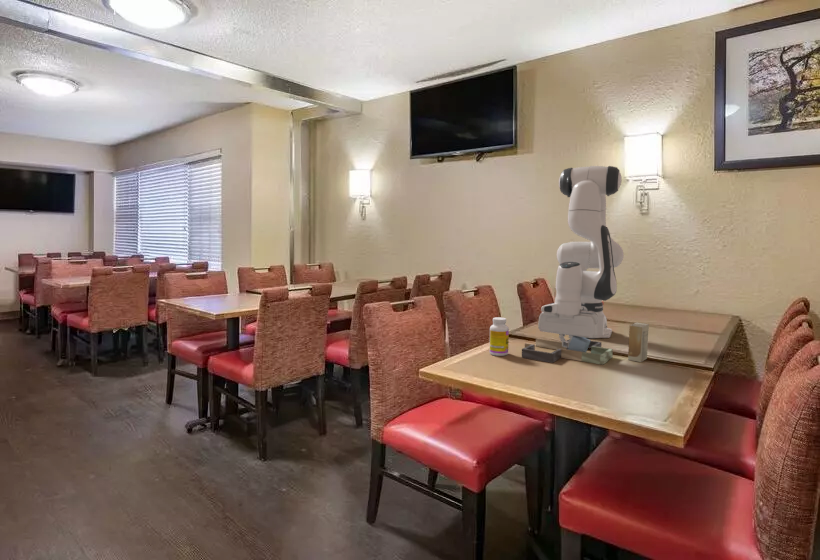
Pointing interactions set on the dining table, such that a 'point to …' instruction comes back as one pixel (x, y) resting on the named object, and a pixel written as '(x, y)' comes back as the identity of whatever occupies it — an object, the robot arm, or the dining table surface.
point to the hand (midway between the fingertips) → (566, 346)
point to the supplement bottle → (499, 337)
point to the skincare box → (638, 342)
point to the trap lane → (566, 352)
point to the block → (579, 344)
